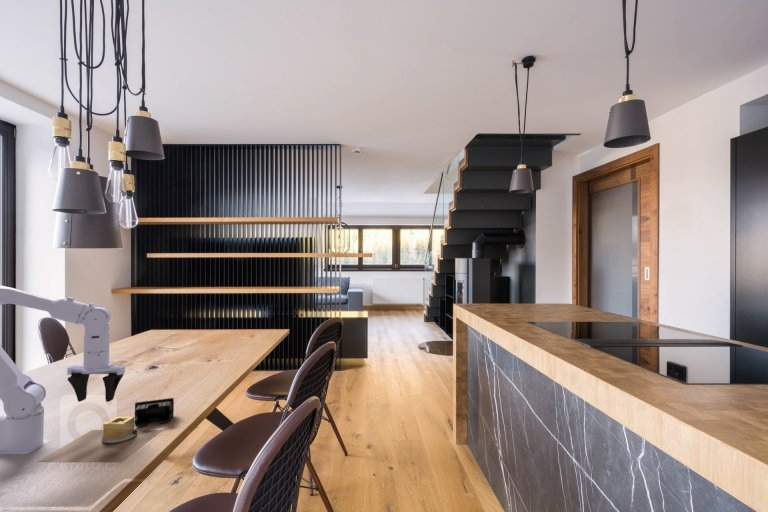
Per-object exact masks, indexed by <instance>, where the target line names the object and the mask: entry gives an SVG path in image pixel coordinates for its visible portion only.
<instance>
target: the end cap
mask: <svg viewBox="0 0 768 512" xmlns="http://www.w3.org/2000/svg"><path fill="white" fill-rule="evenodd" d="M174 405H175V398H174V397H169V398H162V399H161V398H160V399H152V400H145V401H136V402H135V403H134V413H133V414H134V427H135V426H136V427H142V426H144V427H145V426H147V425H148V423H150V422H157V421H158V423H159V424H163V423H169V422H170V421H171V420H172V419H173V418H174V410H175V408H174V407H175V406H174Z"/></svg>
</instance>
